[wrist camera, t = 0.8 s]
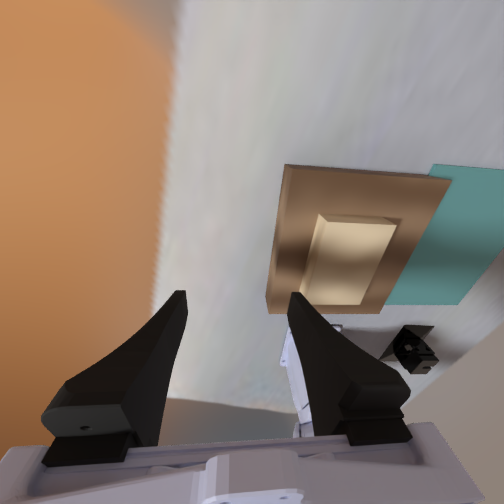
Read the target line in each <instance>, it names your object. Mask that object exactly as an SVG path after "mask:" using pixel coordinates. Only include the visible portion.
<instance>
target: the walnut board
mask: <svg viewBox="0 0 504 504" xmlns="http://www.w3.org/2000/svg"><path fill="white" fill-rule="evenodd" d="M451 182H452V180H447V179H442V178H437V177H432V176H428V175H421V174H408V173H394V172H381V171H368V170H355V169H342V168H328V167H315V166H302V165H289V164H285V165H284V172H283V179H282V186H281V193H280V199H279V206H278V213H277V220H276V227H275V234H274V241H273V248H272V255H271V261H270V268H269V275H268V282H267V289H266V296H265V297H266V302H267V307H268V313H269V314H287V310H288V306H289V302H290V297H291V293H292V292H299V290H300V286H301V282H302V278H303V274H304V270H305V266H306V262H307V258H308V254H309V250H310V246H311V242H312V238H313V234H314V230H315V226H316V222H317V218H318V214H337V215H356V216H376V217H383V218H385V219H387V220H388V221H390V222H392V223H394V224H396V225H397V226H396V228H395V230H394V232H393V235H392V237H391V239H390V241H389V243H388V245H387V247H386V250H385V252H384V254H383V256H382V258H381V260H380V262H379V264H378V267H377V269H376V271H375V273H374V275H373V277H372V279H371V282H370V284H369V286H368V288H367V290H366V292H365V294H364V297H363V299H362V301H361V303H360V305H312V306H313V307H314V308H315V309H316V310H317V311H318V312H319V313H320V314H379V313H380V311H381V309H382V307H383V306H384V304H385V302H386V300H387V298H388V297H389V295H390V293H391V291H392V289H393V288H394V286H395V284H396V282H397V280H398V278H399V277H400V275H401V273H402V271H403V269H404V268H405V266H406V264H407V262H408V260H409V258H410V257H411V255H412V253H413V251H414V249H415V248H416V246H417V244H418V242H419V240H420V238H421V237H422V235H423V233H424V231H425V229H426V228H427V226H428V224H429V222H430V220H431V219H432V217H433V215H434V213H435V211H436V209H437V208H438V206H439V204H440V202H441V200H442V199H443V197H444V195H445V193H446V191H447V189H448V188H449V186H450V184H451Z"/></svg>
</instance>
